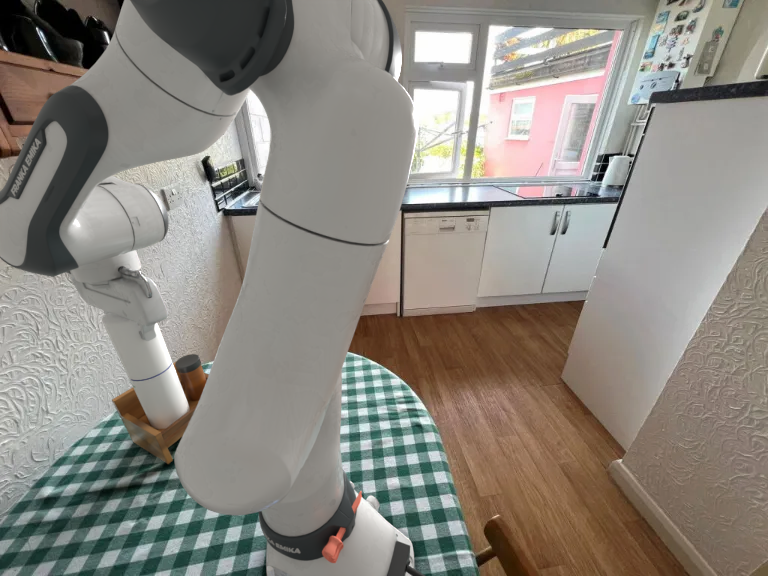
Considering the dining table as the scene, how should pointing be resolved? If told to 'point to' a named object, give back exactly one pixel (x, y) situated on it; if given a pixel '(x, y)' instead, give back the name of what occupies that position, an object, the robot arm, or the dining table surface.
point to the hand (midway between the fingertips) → (135, 333)
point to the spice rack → (161, 439)
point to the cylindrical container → (148, 371)
